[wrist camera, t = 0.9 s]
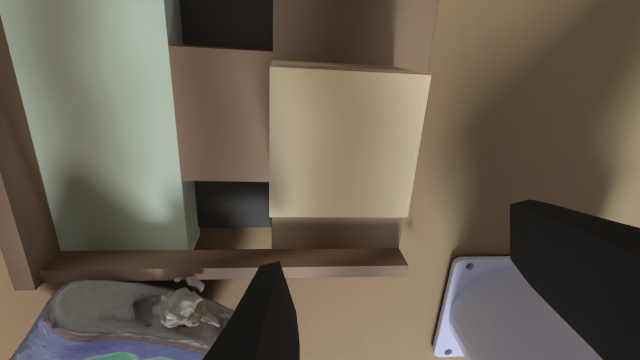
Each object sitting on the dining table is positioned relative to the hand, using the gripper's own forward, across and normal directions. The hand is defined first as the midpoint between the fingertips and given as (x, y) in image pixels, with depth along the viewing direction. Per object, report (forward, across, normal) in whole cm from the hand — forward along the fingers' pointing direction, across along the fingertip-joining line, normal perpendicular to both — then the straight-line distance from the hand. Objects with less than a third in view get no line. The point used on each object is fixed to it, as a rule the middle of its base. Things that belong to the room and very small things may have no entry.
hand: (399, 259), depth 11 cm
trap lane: (+9, +5, -4) cm, 11 cm away
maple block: (+6, +1, -3) cm, 7 cm away
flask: (+7, +16, +8) cm, 20 cm away
